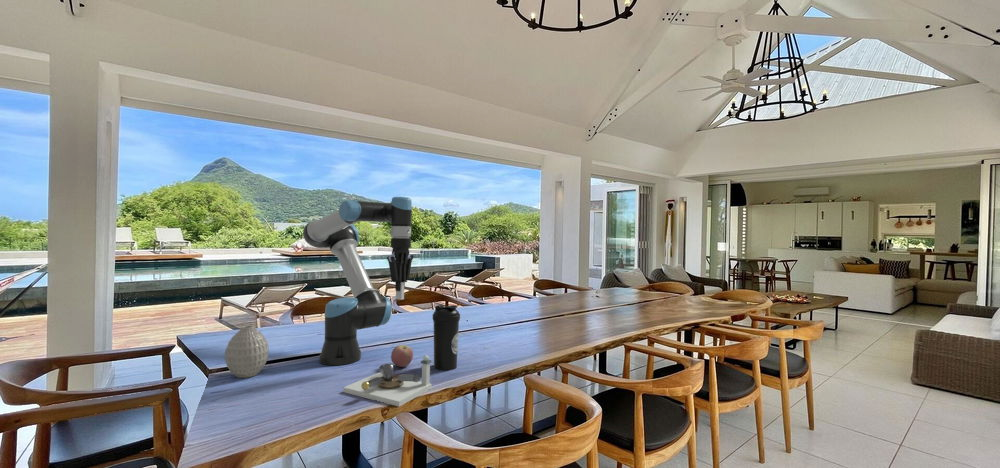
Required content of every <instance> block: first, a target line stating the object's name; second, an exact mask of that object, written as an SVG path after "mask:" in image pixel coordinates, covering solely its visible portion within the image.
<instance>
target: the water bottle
mask: <svg viewBox="0 0 1000 468" xmlns="http://www.w3.org/2000/svg"><path fill="white" fill-rule="evenodd" d="M457 308H458V305H457V304H456V305H455V304H452V305H445V306H444V305H443V304H438V305H436V306H435V307H434V312H433V313H432V321H433V368H434V369H435V370H438V371H442V372H443V371H445V372H446V371H452V370H455V369H457V368H458V351H459V350H458V349H459V347H458V346H459V331H460V329H459V327H460V320H461V314H460V312H459V310H457Z"/></svg>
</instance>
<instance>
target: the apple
mask: <svg viewBox="0 0 1000 468" xmlns="http://www.w3.org/2000/svg"><path fill="white" fill-rule="evenodd" d="M390 354H391V355H390V359H391V362H392V364H393V365H396V366H398V367H400V368H405V367H407V366H409V364H411V362H413V361H412V360H413V358H414V352H413V349H412V348H411V347H410V346H408V345H407V344H398V345H396V346H395V347H394V348H393V349H392V352H391V353H390Z"/></svg>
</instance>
